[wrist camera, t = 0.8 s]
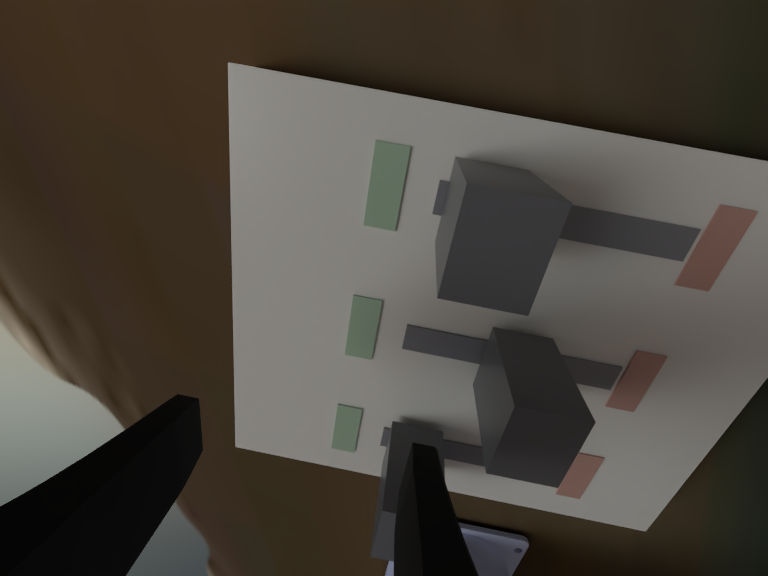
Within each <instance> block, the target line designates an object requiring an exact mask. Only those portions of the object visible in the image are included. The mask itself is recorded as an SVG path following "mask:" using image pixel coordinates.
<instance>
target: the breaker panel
mask: <svg viewBox="0 0 768 576" xmlns="http://www.w3.org/2000/svg"><path fill="white" fill-rule="evenodd" d="M228 90H229V140H230V191H231V242H232V292H233V343H234V394H235V445H236V447H239V448H244V449H248V450H253V451H258V452H263V453H268V454H273V455H277V456H282V457H287V458H292V459H297V460H302V461H307V462H311V463H316V464H321V465H326V466H331V467H336V468H340V469H345V470H350V471H355V472H360V473H365V474H370V475H374V476H379V477H381V470H382V463H383V459H384V455H385V450H386V446H387V442H388V438H389V434H390V429H391V425H392V421H396V422H401V423H405V424H410V425H415V426H420V427H425V428H430V429H435V430H440V431H443V443H444V469H445V483H446V486H447V489H448V491H452V492H457V493H462V494H466V495H471V496H476V497H481V498H486V499H491V500H496V501H500V502H505V503H510V504H515V505H520V506H525V507H530V508H534V509H539V510H544V511H549V512H554V513H559V514H563V515H568V516H573V517H578V518H583V519H588V520H593V521H597V522H602V523H607V524H612V525H617V526H622V527H626V528H631V529H636V530H641V531H646V530H647V529H648V528H649V526H650V525H651V524H652V523H653V521H654V520H655V519H656V518H657V516H658V515H659V514H660V513H661V511H662V510H663V509H664V507H665V506H666V505H667V504H668V502H669V501H670V500H671V499H672V497H673V496H674V495H675V494H676V492H677V491H678V490H679V489H680V487H681V486H682V485H683V484H684V482H685V481H686V480H687V479H688V477H689V476H690V475H691V473H692V472H693V471H694V470H695V468H696V467H697V466H698V465H699V463H700V462H701V461H702V460H703V458H704V457H705V456H706V455H707V453H708V452H709V451H710V450H711V448H712V447H713V446H714V445H715V443H716V442H717V441H718V439H719V438H720V437H721V436H722V434H723V433H724V432H725V431H726V429H727V428H728V427H729V426H730V424H731V423H732V422H733V421H734V419H735V418H736V417H737V416H738V414H739V413H740V412H741V410H742V409H743V408H744V407H745V405H746V404H747V403H748V402H749V400H750V399H751V398H752V397H753V395H754V394H755V393H756V392H757V390H758V389H759V388H760V387H761V385H762V384H763V383H764V382H765V380H766V379H767V378H768V161H764V160H759V159H753V158H748V157H742V156H737V155H731V154H726V153H720V152H715V151H710V150H704V149H699V148H693V147H688V146H682V145H677V144H671V143H666V142H661V141H655V140H650V139H644V138H639V137H633V136H628V135H623V134H617V133H612V132H606V131H601V130H595V129H590V128H584V127H579V126H574V125H568V124H563V123H557V122H552V121H546V120H541V119H535V118H530V117H525V116H519V115H514V114H508V113H503V112H497V111H492V110H486V109H481V108H476V107H470V106H465V105H459V104H454V103H448V102H443V101H437V100H432V99H427V98H421V97H416V96H410V95H405V94H399V93H394V92H389V91H383V90H378V89H372V88H367V87H361V86H356V85H350V84H345V83H340V82H334V81H329V80H323V79H318V78H312V77H307V76H301V75H296V74H291V73H285V72H280V71H274V70H269V69H263V68H258V67H252V66H247V65H241V64H235V63H229V62H228ZM455 156H456V157H461V158H467V159H472V160H477V161H483V162H488V163H494V164H499V165H504V166H510V167H515V168H520V169H526V170H529V171H530V172H531V173H533V174H534V175H535V176H537V177H538V178H540V179H541V180H542V181H544V182H545V183H546V184H548V185H549V186H550V187H552V188H553V189H554V190H556V191H557V192H558V193H560V194H561V195H562V196H564V197H565V198H566V199H568V200H569V201H571V202H572V206H571V208H570V211H569V213H568V216H567V219H566V221H565V224H564V226H563V229H562V231H561V234H560V236H559V239H558V242H557V244H556V247H555V249H554V252H553V254H552V257H551V259H550V262H549V264H548V267H547V270H546V272H545V275H544V277H543V280H542V282H541V285H540V287H539V290H538V293H537V295H536V298H535V300H534V303H533V305H532V308H531V310H530V313H529V316H525V315H520V314H515V313H510V312H504V311H499V310H494V309H489V308H484V307H479V306H474V305H469V304H463V303H458V302H453V301H448V300H443V299H438V298H437V283H436V255H435V240H436V236H437V231H438V227H439V223H440V219H441V215H442V210H443V206H444V202H445V198H446V194H447V189H448V185H449V181H450V177H451V173H452V168H453V164H454V160H455ZM493 327H497V328H502V329H507V330H512V331H517V332H522V333H527V334H532V335H538V336H543V337H548V338H553V340H554V341H555V343H556V345H557V347H558V349H559V351H560V353H561V355H562V357H563V359H564V361H565V363H566V365H567V367H568V369H569V371H570V373H571V375H572V377H573V379H574V381H575V383H576V385H577V387H578V389H579V390H580V392H581V394H582V396H583V398H584V400H585V402H586V404H587V406H588V408H589V410H590V412H591V414H592V416H593V418H594V420H595V422H596V423H595V425H594V426H593V428H592V430H591V432H590V434H589V435H588V437H587V439H586V441H585V442H584V444H583V446H582V448H581V449H580V451H579V453H578V455H577V456H576V458H575V460H574V462H573V463H572V465H571V467H570V469H569V470H568V472H567V474H566V476H565V477H564V479H563V481H562V483H561V484H560V486H559V488H555V487H550V486H545V485H540V484H535V483H530V482H525V481H521V480H516V479H511V478H506V477H501V476H496V475H491V474H486V470H485V463H484V457H483V450H482V443H481V436H480V430H479V423H478V416H477V410H476V403H475V396H474V389H473V383H474V380H475V377H476V374H477V371H478V368H479V365H480V362H481V360H482V357H483V354H484V351H485V348H486V345H487V342H488V339H489V337H490V334H491V331H492V328H493Z"/></svg>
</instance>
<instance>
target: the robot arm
mask: <svg viewBox="0 0 768 576" xmlns="http://www.w3.org/2000/svg"><path fill="white" fill-rule="evenodd" d="M202 451H203V446H202V433H201V419H200V406H199V399H198V398H193V397H188V396H183V395H179V394H177V395H176V396H174V397H173V398H171V399H170V400H168V401H167V402H165V403H164V404H162V405H161V406H159V407H158V408H156V409H155V410H154V411H152V412H151V413H149V414H148V415H146V416H145V417H143V418H142V419H140V420H139V421H138V422H136V423H135V424H133V425H132V426H130V427H129V428H127V429H126V430H124V431H123V432H121V433H120V434H118V435H117V436H115V437H114V438H112V439H111V440H109V441H108V442H106V443H105V444H103V445H102V446H100V447H99V448H97V449H96V450H94V451H93V452H91V453H90V454H88V455H87V456H85V457H84V458H82V459H81V460H79V461H77V462H75V463H74V464H72V465H70V466H69V467H67V468H66V469H64V470H63V471H61V472H59V473H58V474H56V475H55V476H53V477H51V478H49V479H48V480H46V481H45V482H43V483H41V484H39V485H38V486H36V487H34V488H33V489H31V490H29V491H27V492H26V493H24V494H22V495H20V496H19V497H17V498H15V499H13V500H11V501H10V502H8V503H6V504H4V505H2V506H0V576H126V574H127V573H128V572H129V570H130V569H131V567H132V565H133V564H134V562H135V561H136V559H137V558H138V556H139V555H140V553H141V552H142V550H143V549H144V547H145V546H146V544H147V542H148V541H149V540H150V538H151V537H152V535H153V534H154V532H155V531H156V529H157V528H158V526H159V524H160V523H161V522H162V520H163V519H164V517H165V515H166V514H167V512H168V511H169V509H170V508H171V506H172V505H173V503H174V502H175V500H176V499H177V497H178V496H179V494H180V492H181V491H182V489H183V488H184V486H185V484H186V482H187V480H188V478H189V476H190V475H191V473H192V471H193V469H194V467H195V465H196V463H197V461H198V459H199V457H200V455H201V453H202ZM528 547H529V543H528V540H527V538H526V537H525V536H522V535H517V534H512V533H508V532H503V531H498V530H493V529H488V528H484V527H479V526H474V525H469V524H464V523H460V522H458V520H457V517H456V514H455V512H454V509H453V505H452V502H451V499H450V496H449V493H448V489H447V486H446V483H445V479H444V476H443V472H442V468H441V464H440V460H439V455H438V450H437V449H436V448H435V447H434V446H429V445H424V444H419V443H414V442H412V446H411V449H410V453H409V457H408V460H407V464H406V467H405V471H404V474H403V478H402V482H401V485H400V489H399V495H398V504H397V512H396V522H395V531H394V562H393V561H389V563H388V566H387V569H386V573H385V576H512V575H513V573H514V571H515V569H516V568H517V566H518V564H519V563H520V561H521V559H522V557H523V556H524V554H525V552H526V550H527V549H528Z"/></svg>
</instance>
